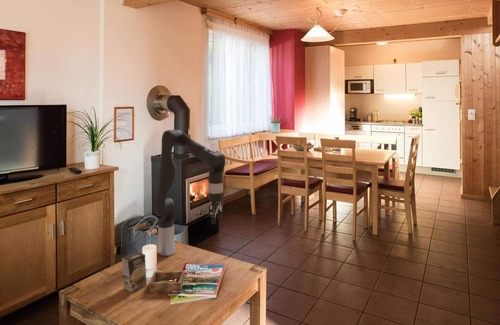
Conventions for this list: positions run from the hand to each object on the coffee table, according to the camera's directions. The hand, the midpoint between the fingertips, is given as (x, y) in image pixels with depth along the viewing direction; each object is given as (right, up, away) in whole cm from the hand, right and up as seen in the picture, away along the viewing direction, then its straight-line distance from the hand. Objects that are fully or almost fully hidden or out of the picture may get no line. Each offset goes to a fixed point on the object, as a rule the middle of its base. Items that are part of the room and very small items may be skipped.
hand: (216, 221), depth 191 cm
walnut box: (-23, -30, -11) cm, 40 cm away
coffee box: (-39, -31, -10) cm, 51 cm away
